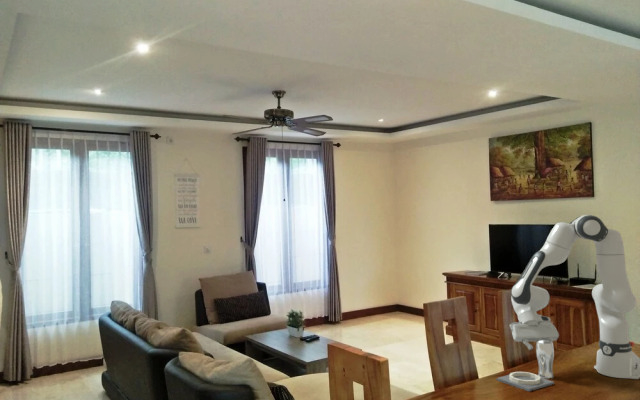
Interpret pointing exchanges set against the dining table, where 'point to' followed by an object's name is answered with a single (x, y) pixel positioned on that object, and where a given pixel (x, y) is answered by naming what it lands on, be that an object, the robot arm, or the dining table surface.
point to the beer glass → (545, 358)
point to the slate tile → (526, 387)
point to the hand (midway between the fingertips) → (541, 348)
